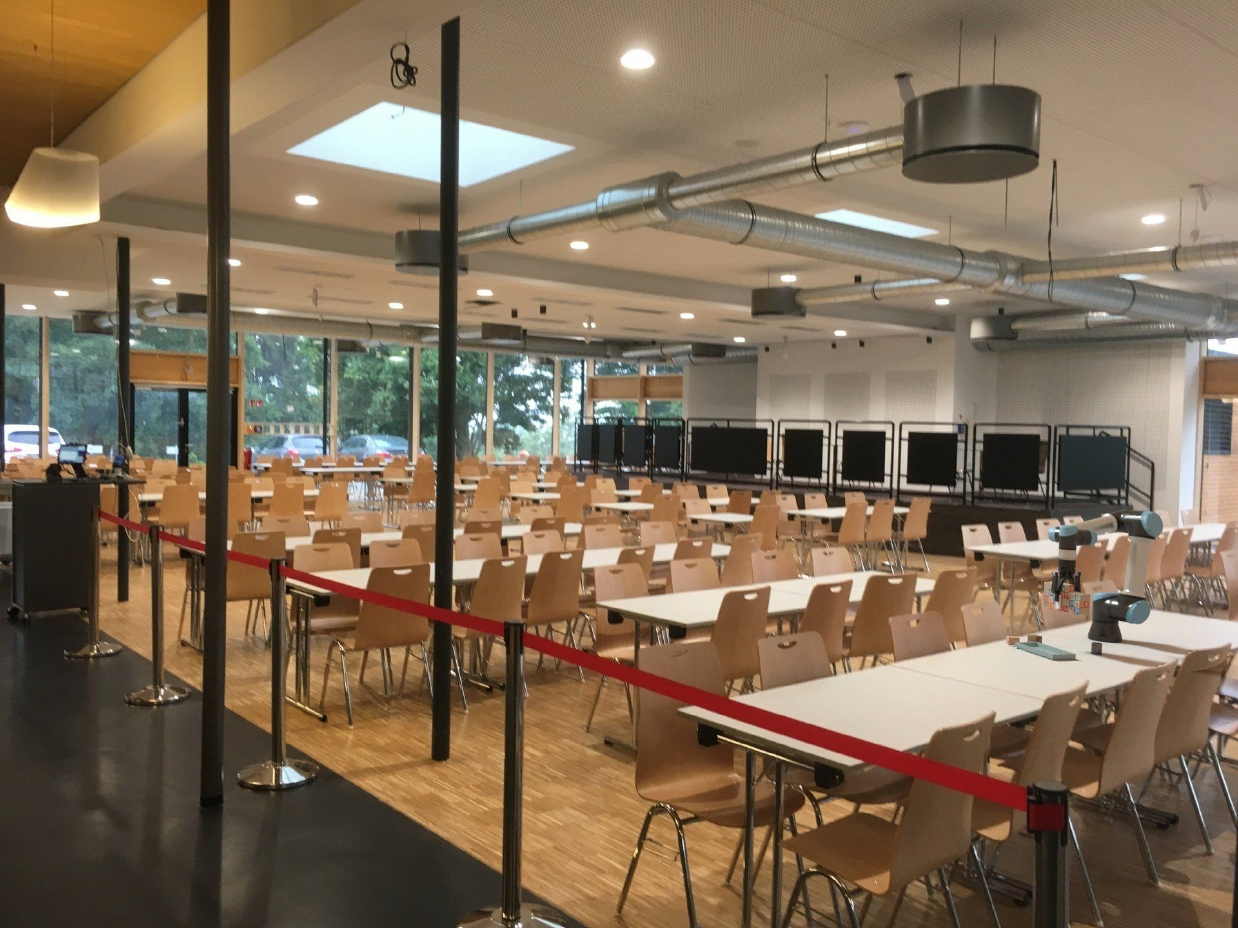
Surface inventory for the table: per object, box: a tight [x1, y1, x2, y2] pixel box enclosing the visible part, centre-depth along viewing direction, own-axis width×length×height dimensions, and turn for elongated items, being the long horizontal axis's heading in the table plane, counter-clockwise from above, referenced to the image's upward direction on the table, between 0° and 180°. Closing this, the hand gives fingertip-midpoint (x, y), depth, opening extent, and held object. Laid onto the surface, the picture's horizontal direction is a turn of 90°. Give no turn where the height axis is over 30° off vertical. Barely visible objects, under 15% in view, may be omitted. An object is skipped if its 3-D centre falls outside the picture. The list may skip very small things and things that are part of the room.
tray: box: [1014, 641, 1077, 661], centre depth 444 cm, size 12×27×2 cm, turn 13°
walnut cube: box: [1026, 634, 1043, 644], centre depth 463 cm, size 4×4×4 cm
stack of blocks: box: [1043, 581, 1091, 616], centre depth 451 cm, size 21×6×12 cm, turn 21°
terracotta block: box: [1005, 635, 1021, 646], centre depth 462 cm, size 5×4×4 cm
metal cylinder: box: [1090, 641, 1103, 656], centre depth 445 cm, size 4×4×5 cm
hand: (1065, 608), depth 452 cm, fingers closed on stack of blocks, 7 cm apart
